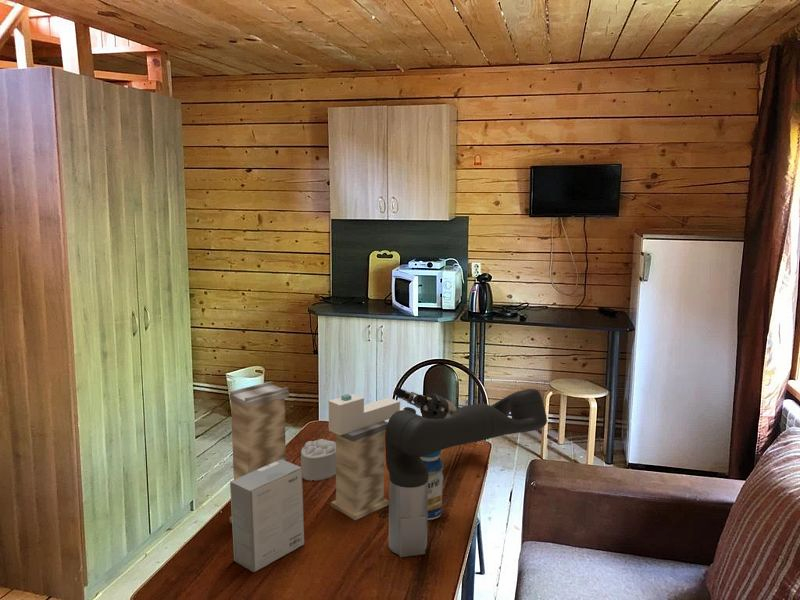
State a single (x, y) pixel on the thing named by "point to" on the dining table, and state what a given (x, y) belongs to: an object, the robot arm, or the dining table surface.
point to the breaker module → (358, 413)
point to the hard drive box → (267, 514)
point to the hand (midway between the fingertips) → (405, 394)
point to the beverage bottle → (434, 484)
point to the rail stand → (257, 427)
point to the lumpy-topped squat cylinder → (318, 459)
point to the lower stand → (360, 471)
